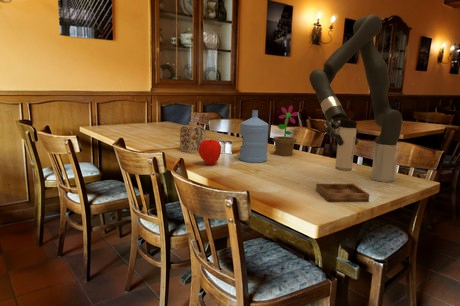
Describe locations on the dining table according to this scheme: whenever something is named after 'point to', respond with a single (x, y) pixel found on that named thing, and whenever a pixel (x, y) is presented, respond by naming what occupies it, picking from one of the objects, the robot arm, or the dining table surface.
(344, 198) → the tray
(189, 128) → the decorative jar
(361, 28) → the robot arm
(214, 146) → the apple
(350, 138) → the travel mug
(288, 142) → the flowerpot
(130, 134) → the dining table surface
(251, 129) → the water jug
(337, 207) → the dining table surface
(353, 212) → the dining table surface
